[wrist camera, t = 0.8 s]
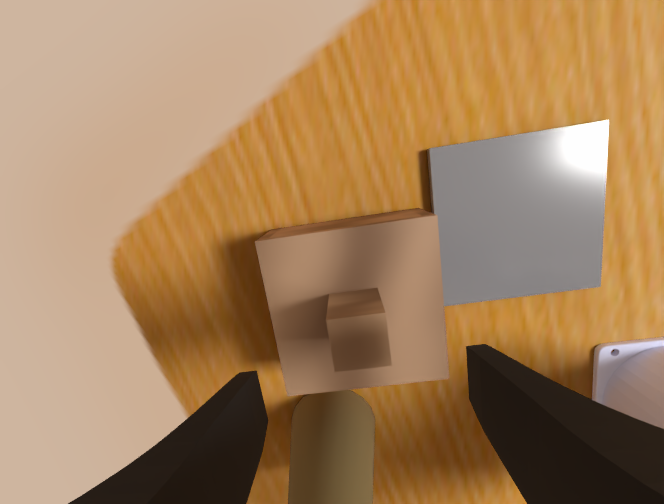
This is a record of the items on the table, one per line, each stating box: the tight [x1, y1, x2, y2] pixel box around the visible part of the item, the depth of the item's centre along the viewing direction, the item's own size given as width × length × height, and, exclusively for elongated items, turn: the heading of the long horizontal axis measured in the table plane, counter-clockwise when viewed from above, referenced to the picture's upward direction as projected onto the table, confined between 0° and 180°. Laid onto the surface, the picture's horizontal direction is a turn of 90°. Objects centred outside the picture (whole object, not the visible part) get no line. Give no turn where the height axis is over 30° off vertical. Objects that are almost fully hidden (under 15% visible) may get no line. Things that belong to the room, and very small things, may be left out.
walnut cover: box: [255, 208, 449, 396], centre depth 16 cm, size 9×9×7 cm
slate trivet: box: [427, 120, 609, 306], centre depth 18 cm, size 10×10×1 cm
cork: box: [288, 390, 375, 504], centre depth 17 cm, size 6×6×11 cm
